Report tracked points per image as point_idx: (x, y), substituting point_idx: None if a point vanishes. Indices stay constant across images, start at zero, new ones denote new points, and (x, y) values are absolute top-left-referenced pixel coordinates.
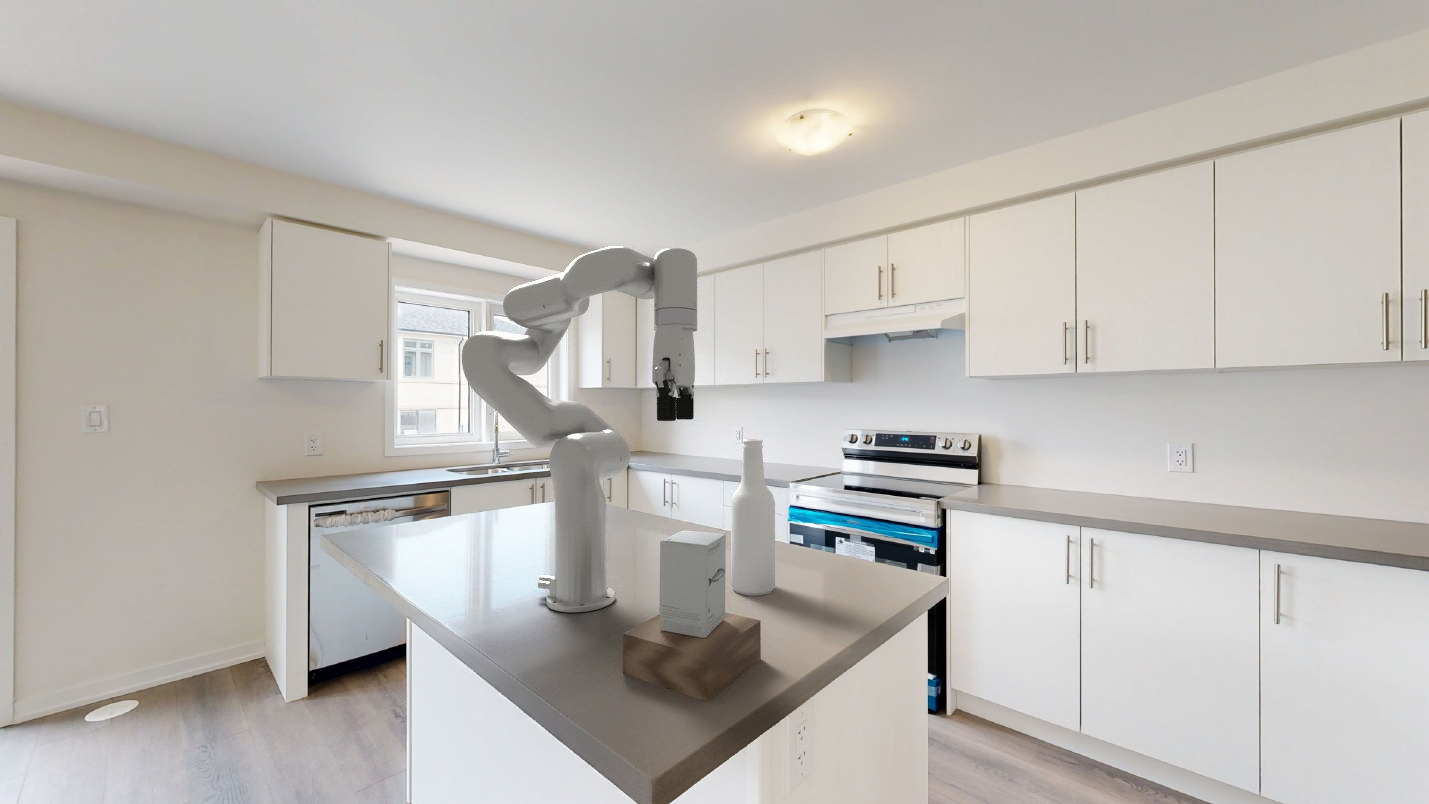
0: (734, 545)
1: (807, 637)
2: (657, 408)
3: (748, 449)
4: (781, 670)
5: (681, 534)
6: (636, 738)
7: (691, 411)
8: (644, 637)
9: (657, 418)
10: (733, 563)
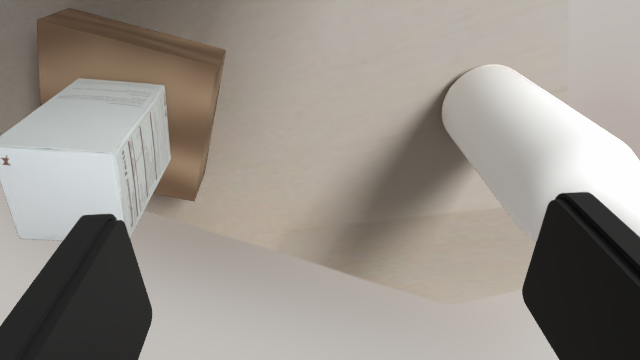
0: (492, 109)
1: (291, 212)
2: (38, 284)
3: None
4: (184, 200)
5: (62, 170)
6: None
7: (549, 338)
8: (45, 63)
9: (82, 222)
10: (480, 91)
